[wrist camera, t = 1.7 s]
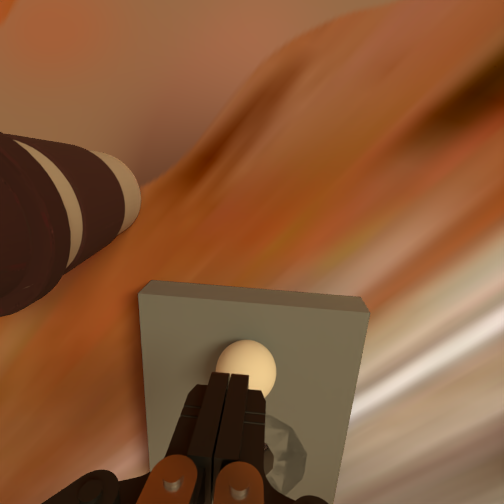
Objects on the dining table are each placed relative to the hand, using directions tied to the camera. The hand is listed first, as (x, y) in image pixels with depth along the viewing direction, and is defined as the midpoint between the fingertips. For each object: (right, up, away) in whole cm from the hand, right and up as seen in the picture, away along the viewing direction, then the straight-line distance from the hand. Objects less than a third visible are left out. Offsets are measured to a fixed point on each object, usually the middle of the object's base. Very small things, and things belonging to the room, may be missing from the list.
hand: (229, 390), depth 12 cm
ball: (0, -4, +13) cm, 14 cm away
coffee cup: (-12, +11, +15) cm, 22 cm away
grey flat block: (0, -10, +21) cm, 23 cm away
